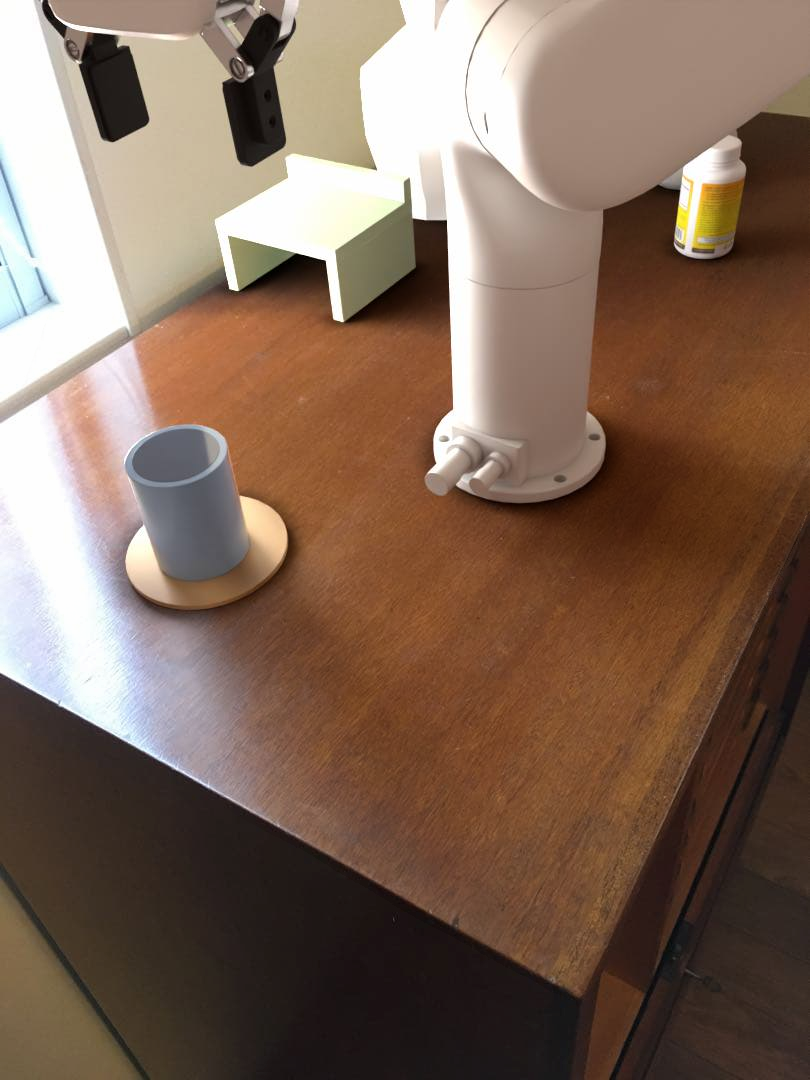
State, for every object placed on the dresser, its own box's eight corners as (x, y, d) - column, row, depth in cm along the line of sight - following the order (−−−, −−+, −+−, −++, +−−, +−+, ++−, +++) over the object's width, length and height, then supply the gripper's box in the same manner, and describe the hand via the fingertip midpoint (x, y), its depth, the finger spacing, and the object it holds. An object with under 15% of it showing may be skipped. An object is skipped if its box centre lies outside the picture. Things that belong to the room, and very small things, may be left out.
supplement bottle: (743, 247, 91) (764, 140, 84) (707, 267, 88) (726, 158, 81) (696, 230, 94) (713, 126, 87) (660, 249, 92) (674, 142, 85)
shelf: (343, 322, 85) (332, 228, 79) (229, 288, 91) (210, 198, 85) (416, 267, 92) (410, 176, 86) (305, 239, 98) (292, 153, 92)
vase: (510, 182, 106) (513, -79, 89) (487, 238, 96) (486, -44, 79) (389, 178, 109) (370, -75, 92) (355, 231, 99) (326, -41, 82)
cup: (205, 594, 60) (176, 500, 54) (135, 560, 63) (102, 466, 57) (269, 536, 64) (248, 442, 58) (200, 505, 67) (174, 413, 61)
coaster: (213, 634, 58) (211, 630, 58) (92, 571, 63) (90, 567, 63) (320, 530, 64) (320, 526, 64) (204, 481, 69) (202, 476, 69)
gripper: (-121, -262, 39) (29, 150, 51) (181, -297, 31) (276, 197, 43) (18, -281, 43) (126, 103, 55) (313, -316, 36) (366, 138, 48)
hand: (192, 144), depth 49 cm, fingers open, 9 cm apart
